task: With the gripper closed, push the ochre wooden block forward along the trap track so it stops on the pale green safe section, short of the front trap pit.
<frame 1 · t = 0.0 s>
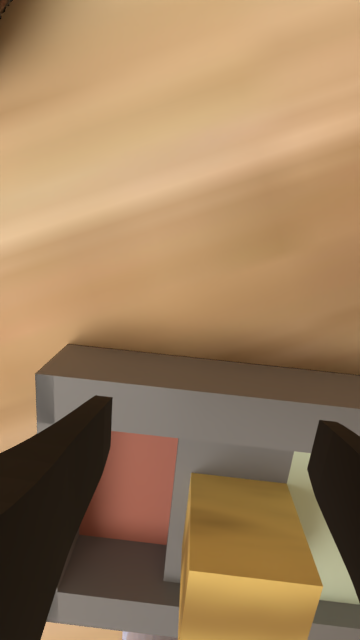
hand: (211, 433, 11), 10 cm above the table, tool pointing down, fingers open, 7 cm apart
block: (232, 515, 21), point 3 cm above the table, touching trap track
trap track: (274, 486, 24), on the table
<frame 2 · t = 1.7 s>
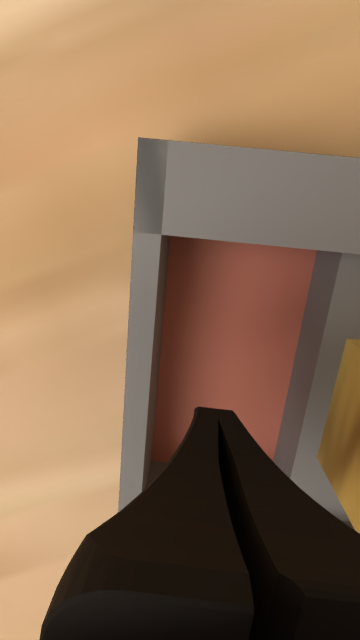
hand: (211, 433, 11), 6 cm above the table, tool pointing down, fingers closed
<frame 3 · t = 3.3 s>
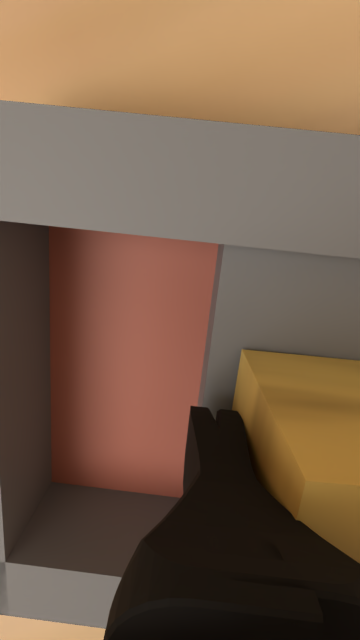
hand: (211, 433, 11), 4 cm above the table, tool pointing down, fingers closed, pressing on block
block: (309, 431, 12), point 3 cm above the table, touching gripper, trap track
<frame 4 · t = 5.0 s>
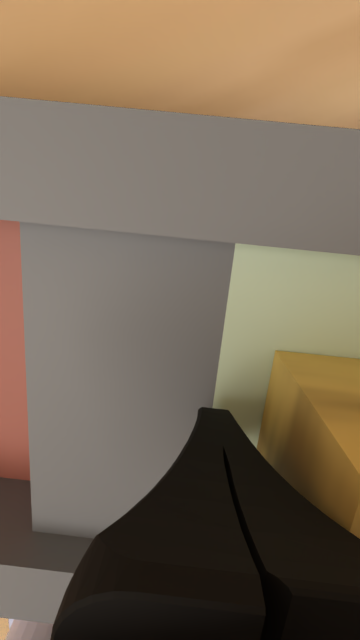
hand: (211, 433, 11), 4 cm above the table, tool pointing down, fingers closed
block: (341, 433, 12), point 3 cm above the table, touching gripper, trap track
trap track: (218, 383, 15), on the table
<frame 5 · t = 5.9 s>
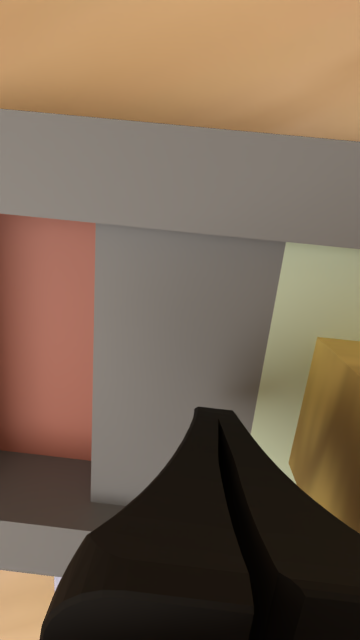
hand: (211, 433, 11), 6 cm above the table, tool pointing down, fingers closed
trap track: (256, 369, 16), on the table
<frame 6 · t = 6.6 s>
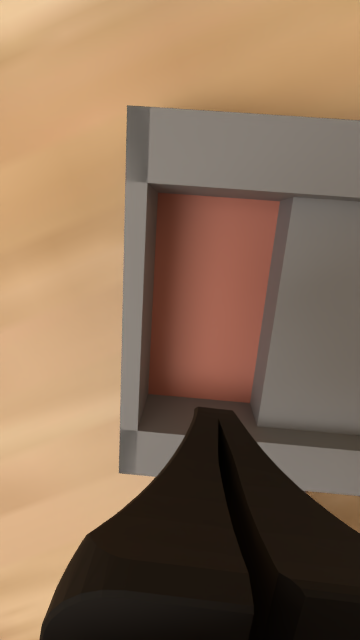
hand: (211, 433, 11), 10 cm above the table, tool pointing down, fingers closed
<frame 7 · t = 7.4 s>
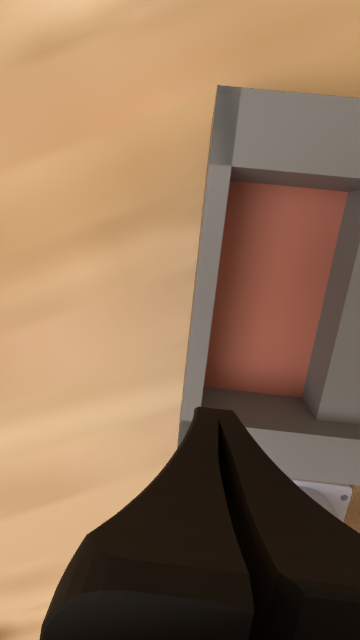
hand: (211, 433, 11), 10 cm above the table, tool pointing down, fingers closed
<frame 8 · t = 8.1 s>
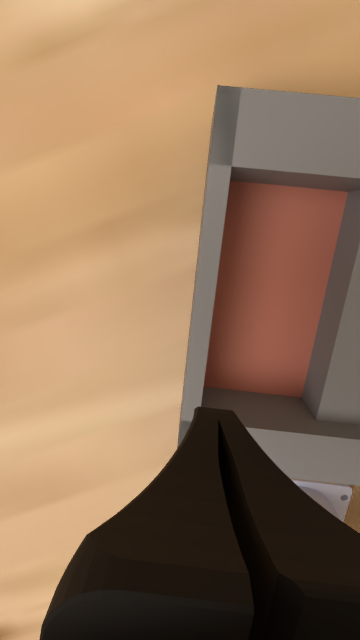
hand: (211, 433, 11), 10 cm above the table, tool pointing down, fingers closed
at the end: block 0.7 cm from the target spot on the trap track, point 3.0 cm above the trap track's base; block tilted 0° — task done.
